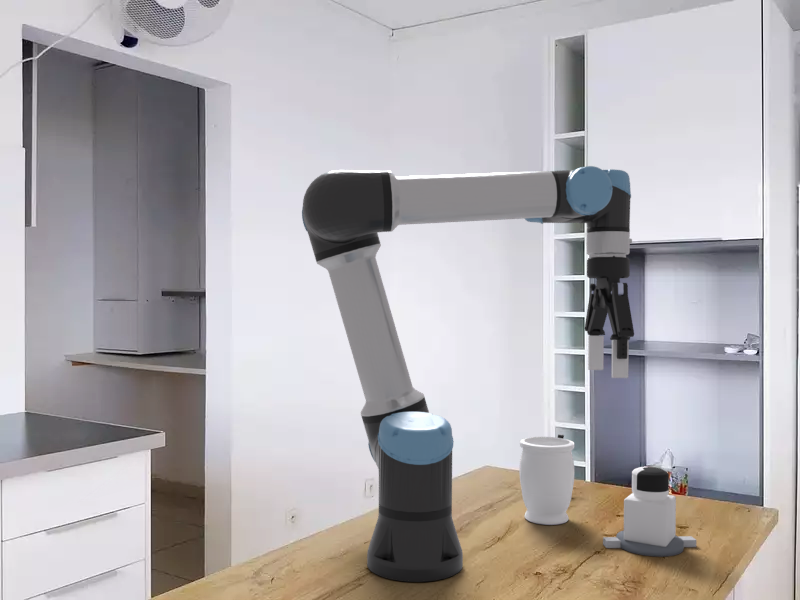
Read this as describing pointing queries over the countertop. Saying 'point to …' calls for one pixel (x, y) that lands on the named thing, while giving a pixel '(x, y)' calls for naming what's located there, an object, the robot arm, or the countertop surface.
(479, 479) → the countertop surface
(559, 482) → the jar
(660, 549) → the pad
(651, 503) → the medicine bottle
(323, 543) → the countertop surface
